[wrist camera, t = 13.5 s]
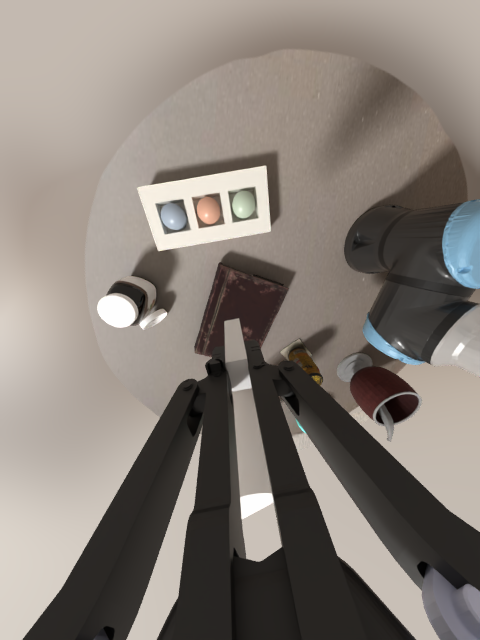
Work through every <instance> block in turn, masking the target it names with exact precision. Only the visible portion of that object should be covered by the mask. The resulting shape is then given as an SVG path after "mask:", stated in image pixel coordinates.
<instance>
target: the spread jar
mask: <svg viewBox="0 0 480 640" xmlns="http://www.w3.org/2000/svg"><path fill="white" fill-rule="evenodd" d="M156 296H157V292H156V288H155V286H154V285H153V284H152V283H150V282H148V281H147V280H145V279H142V278H139V277H134V276H128V277H125V278H122V279H120V280H118V281H116V282H115V283H114V284H113V285H112V286H111V288H110V289H109V291H108V293H107V295H106V296H105V297H103V298H102V299H101V300H100V301H99V303H98V308H97V309H98V313H99V315H100V317H101V318H102V319H103V320H104V321H105V322H106V323H108V324H110V325H112V326H115V327H127V326H135V325H138V324H140V326H141V327H142V328H143V330H146V329H149V328H151V327H153V326H154V325H156V324H157V323H159V322H160V321H161V320H162V319H164V318H165V317H166V315H167V312H166V311H165V310H164V309H159V310H157V311H155V312H153V313H152V314H150V315H149V316H148V314H149V313H150V311H151V310H152V308H153V306H154V304H155V302H156Z"/></svg>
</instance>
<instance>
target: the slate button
mask: <svg viewBox="0 0 480 640" xmlns="http://www.w3.org/2000/svg"><path fill="white" fill-rule="evenodd" d="M161 219H162V221H163V223H164V224H165V225H166V226H167V227H168V228H170V229H174V230H182V229H184V228H185V227H186V225H187V222H188V218H187V214H186V212H185V211H184V210H183V209H182V208H181V207H179V206H178V205H176V204H174V203H168V204H166V205H164V206H163V208H162V210H161Z"/></svg>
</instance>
